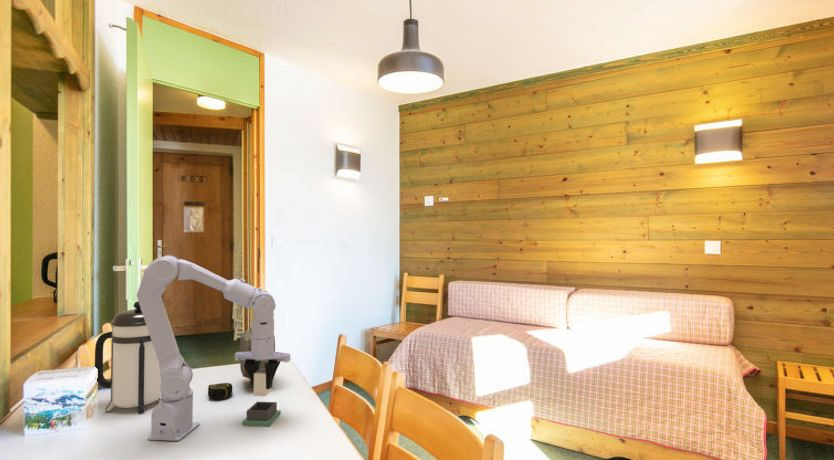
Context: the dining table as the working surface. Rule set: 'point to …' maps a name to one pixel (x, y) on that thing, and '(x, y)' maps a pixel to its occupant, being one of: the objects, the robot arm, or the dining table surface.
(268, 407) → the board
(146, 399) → the coffee press
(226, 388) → the tape measure
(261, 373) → the plug
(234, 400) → the dining table surface
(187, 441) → the dining table surface
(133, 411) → the dining table surface
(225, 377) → the dining table surface
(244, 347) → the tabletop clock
